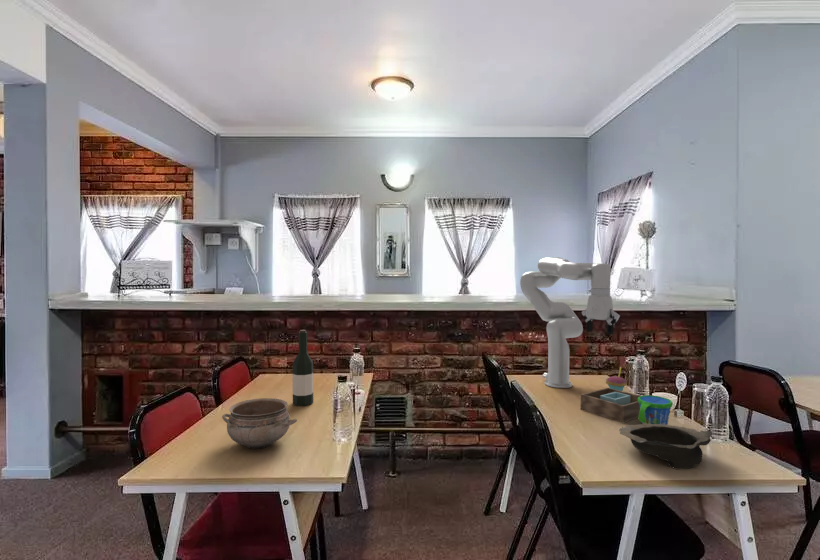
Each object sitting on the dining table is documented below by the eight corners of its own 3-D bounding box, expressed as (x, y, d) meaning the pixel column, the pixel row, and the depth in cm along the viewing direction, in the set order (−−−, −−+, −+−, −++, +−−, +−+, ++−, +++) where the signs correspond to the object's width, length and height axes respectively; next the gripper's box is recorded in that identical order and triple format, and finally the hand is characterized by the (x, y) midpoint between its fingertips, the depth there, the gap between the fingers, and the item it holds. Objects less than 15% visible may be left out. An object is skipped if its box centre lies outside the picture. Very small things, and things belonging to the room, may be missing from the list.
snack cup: (652, 436, 152) (653, 406, 152) (625, 426, 162) (626, 398, 162) (683, 429, 159) (683, 400, 159) (655, 420, 169) (656, 392, 168)
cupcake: (622, 389, 210) (623, 363, 209) (629, 395, 201) (630, 367, 201) (603, 389, 211) (603, 363, 210) (609, 394, 202) (609, 367, 202)
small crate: (599, 409, 178) (600, 395, 178) (615, 405, 184) (615, 391, 184) (615, 414, 173) (615, 399, 173) (630, 409, 178) (630, 395, 178)
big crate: (580, 409, 181) (580, 394, 181) (607, 402, 191) (608, 387, 191) (623, 422, 166) (623, 406, 166) (650, 413, 176) (650, 398, 176)
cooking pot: (308, 436, 151) (308, 400, 151) (282, 460, 133) (281, 419, 132) (239, 431, 156) (239, 395, 156) (204, 453, 137) (204, 413, 137)
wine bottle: (288, 404, 185) (288, 331, 184) (300, 399, 193) (300, 328, 192) (305, 407, 182) (305, 332, 181) (317, 401, 190) (317, 329, 189)
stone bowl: (716, 482, 120) (714, 447, 120) (614, 467, 133) (612, 435, 133) (713, 449, 141) (711, 419, 141) (625, 438, 154) (623, 411, 154)
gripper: (577, 291, 199) (576, 331, 200) (614, 294, 185) (613, 336, 185) (588, 291, 203) (587, 329, 204) (624, 293, 189) (623, 334, 189)
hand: (599, 332), depth 195 cm, fingers open, 9 cm apart
